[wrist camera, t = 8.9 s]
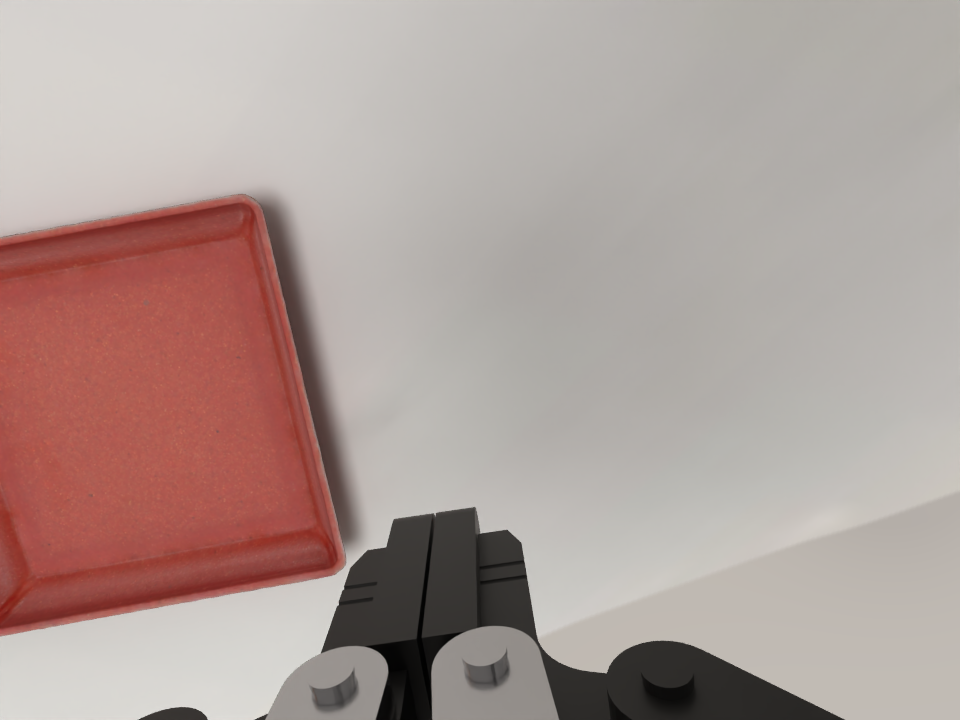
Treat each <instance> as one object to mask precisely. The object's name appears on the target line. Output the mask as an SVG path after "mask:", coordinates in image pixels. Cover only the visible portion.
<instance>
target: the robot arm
mask: <svg viewBox="0 0 960 720" xmlns="http://www.w3.org/2000/svg"><path fill="white" fill-rule="evenodd" d="M139 720H208V719H207V717H206V716H205V715H204V714H203V713H202V712H201V711H199V710H197V709H193V708H188V707H178V708H170V709H166V710H161V711H158V712H155V713H152V714H150V715H148V716H145V717H143V718H141V719H139ZM255 720H844V719H842V718H840V717H838V716H836V715H834V714H832V713H830V712H828V711H826V710H824V709H822V708H820V707H818V706H815V705H814V704H812V703H810V702H807V701H805V700H803V699H801V698H799V697H797V696H795V695H793V694H791V693H789V692H787V691H785V690H783V689H781V688H779V687H777V686H775V685H773V684H771V683H769V682H767V681H765V680H763V679H761V678H759V677H756V676H754V675H752V674H750V673H748V672H746V671H744V670H742V669H740V668H738V667H736V666H734V665H732V664H730V663H728V662H726V661H724V660H722V659H720V658H718V657H716V656H713V655H711V654H710V653H707V652H705V651H703V650H701V649H699V648H696V647H694V646H691V645H688V644H684V643H679V642H673V641H651V642H646V643H642V644H638V645H635V646H633V647H631V648H629V649H626V650H625V651H623V652H622V653H621V654H619V655H618V656H617V657H616V658H615V659H614V660H613V662H612V663H611V665H610V666H609V669H608V672H607V674H605V673H597V672H588V671H582V670H577V669H573V668H570V667H568V666H565V665H563V664H561V663H559V662H557V661H556V660H554V659H552V658H551V657H550V656H549V655H548V654H547V653H546V652H545V651H544V650H543V649H542V647H541V646H540V644H539V642H538V639H537V635H536V629H535V623H534V617H533V611H532V605H531V599H530V593H529V587H528V581H527V574H526V568H525V563H524V556H523V550H522V544H521V542H520V541H519V540H518V539H517V538H516V537H514V536H513V535H512V534H511V533H510V532H509V531H508V530H503V531H496V532H489V533H482V534H480V528H479V522H478V516H477V511H476V508H475V507H473V508H466V509H459V510H452V511H445V512H438V513H436V517H435V515H434V513H433V514H426V515H419V516H412V517H405V518H398V519H394V520H393V524H392V527H391V531H390V535H389V539H388V543H387V547H386V548H380V549H373V550H367V551H366V552H365V553H364V554H363V556H362V557H361V558H360V559H359V560H358V561H357V562H356V563H355V564H354V565H353V566H352V567H351V568H350V571H349V574H348V577H347V580H346V582H345V585H344V590H343V591H342V594H341V597H340V600H339V606H337V608H336V611H335V614H334V617H333V620H332V623H331V626H330V628H329V631H328V634H327V637H326V640H325V643H324V646H323V649H322V651H321V654H319V655H317V656H315V657H313V658H311V659H310V660H308V661H306V662H305V663H303V664H302V665H301V666H300V667H298V668H297V669H296V670H295V671H294V672H293V673H292V674H291V675H290V676H289V677H288V678H287V680H286V681H285V682H284V684H283V686H282V687H281V689H280V691H279V693H278V695H277V697H276V699H275V701H274V703H273V705H272V707H271V709H270V711H269V713H268V714H266V715H264V716H262V717H260V718H257V719H255Z"/></svg>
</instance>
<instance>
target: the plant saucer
mask: <svg viewBox="0 0 960 720" xmlns="http://www.w3.org/2000/svg"><path fill="white" fill-rule="evenodd" d="M345 565H346V555H345V550H344V546H343V542H342V538H341V534H340V530H339V525H338V521H337V517H336V513H335V509H334V505H333V501H332V497H331V493H330V488H329V484H328V480H327V476H326V472H325V468H324V464H323V460H322V455H321V451H320V447H319V443H318V438H317V435H316V431H315V427H314V422H313V418H312V414H311V410H310V405H309V401H308V397H307V393H306V389H305V385H304V380H303V375H302V371H301V367H300V363H299V359H298V355H297V350H296V346H295V343H294V338H293V334H292V329H291V326H290V322H289V318H288V314H287V310H286V304H285V300H284V296H283V292H282V288H281V284H280V279H279V275H278V271H277V267H276V263H275V258H274V254H273V249H272V245H271V241H270V237H269V233H268V229H267V224H266V221H265V217H264V213H263V210H262V208H261V206H260V204H259V203H258V202H257V201H256V200H255V199H254V198H252V197H250V196H248V195H246V194H238V195H231V196H225V197H220V198H215V199H210V200H202V201H198V202H194V203H187V204H181V205H177V206H172V207H166V208H161V209H155V210H149V211H144V212H138V213H133V214H127V215H121V216H115V217H111V218H106V219H99V220H94V221H89V222H82V223H78V224H73V225H66V226H60V227H54V228H50V229H45V230H39V231H32V232H29V233H23V234H15V235H11V236H6V237H0V636H5V635H11V634H16V633H21V632H26V631H31V630H36V629H44V628H48V627H54V626H60V625H64V624H69V623H75V622H80V621H85V620H92V619H96V618H102V617H108V616H113V615H120V614H124V613H131V612H136V611H140V610H147V609H153V608H158V607H163V606H168V605H174V604H179V603H185V602H192V601H197V600H201V599H206V598H214V597H219V596H224V595H228V594H234V593H240V592H247V591H252V590H257V589H261V588H268V587H274V586H279V585H285V584H291V583H298V582H303V581H307V580H313V579H319V578H323V577H328V576H332V575H335V574H336V573H337V572H339V571H340V570H342V569H343V568H344V566H345Z"/></svg>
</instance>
